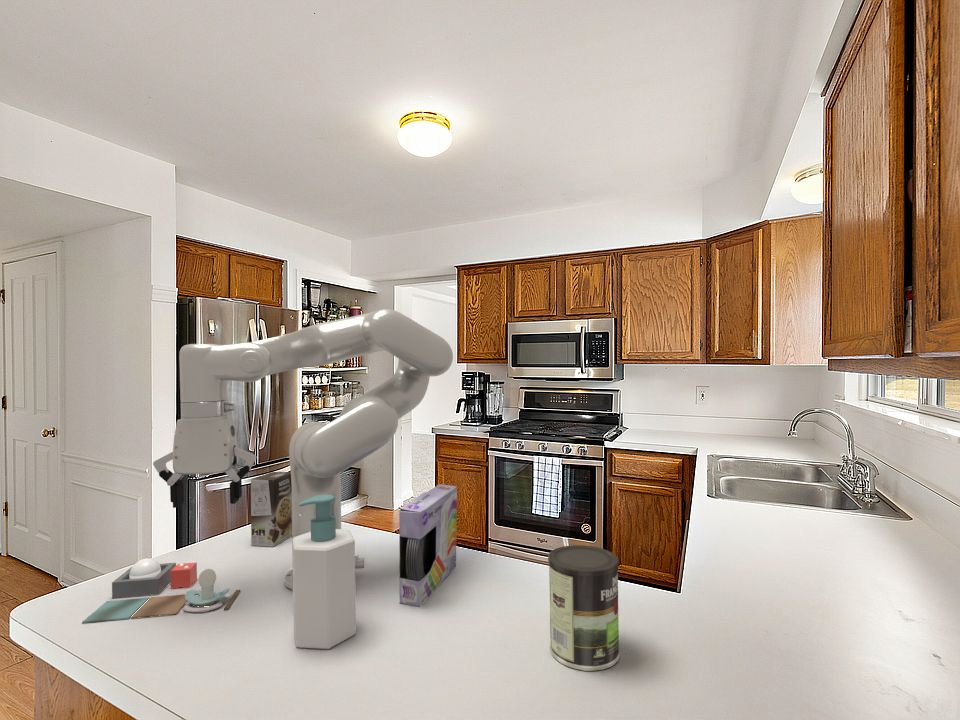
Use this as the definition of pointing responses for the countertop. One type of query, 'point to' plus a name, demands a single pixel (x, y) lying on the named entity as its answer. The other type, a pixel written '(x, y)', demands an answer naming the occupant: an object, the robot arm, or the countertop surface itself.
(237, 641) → the countertop surface
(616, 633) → the coffee can
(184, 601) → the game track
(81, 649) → the countertop surface
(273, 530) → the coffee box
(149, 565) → the popper dome
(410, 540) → the cake pan box
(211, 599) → the pacifier
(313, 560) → the soap bottle
